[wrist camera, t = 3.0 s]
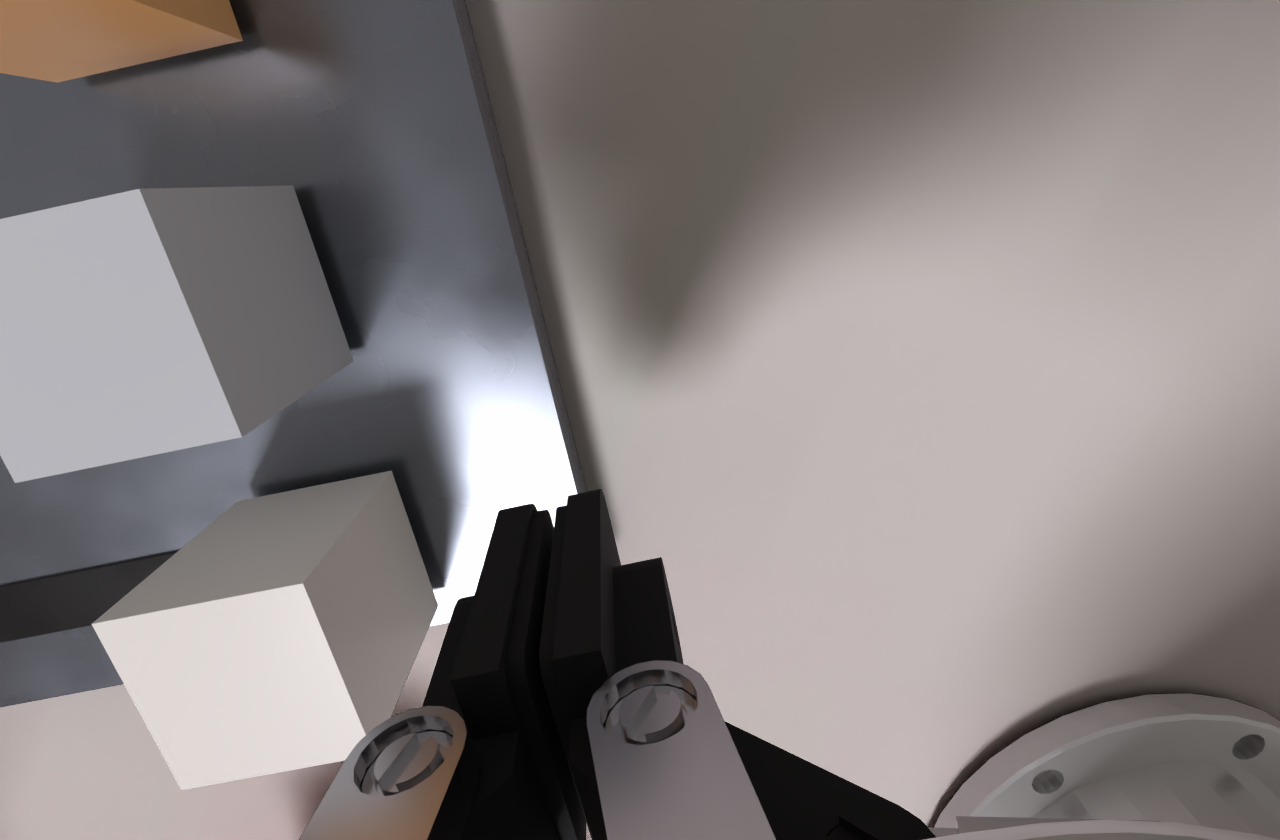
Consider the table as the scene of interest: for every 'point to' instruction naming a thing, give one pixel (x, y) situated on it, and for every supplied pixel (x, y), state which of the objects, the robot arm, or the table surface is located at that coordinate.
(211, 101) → the panel
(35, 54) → the orange slider
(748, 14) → the table surface
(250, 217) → the grey slider
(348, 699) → the ivory slider
